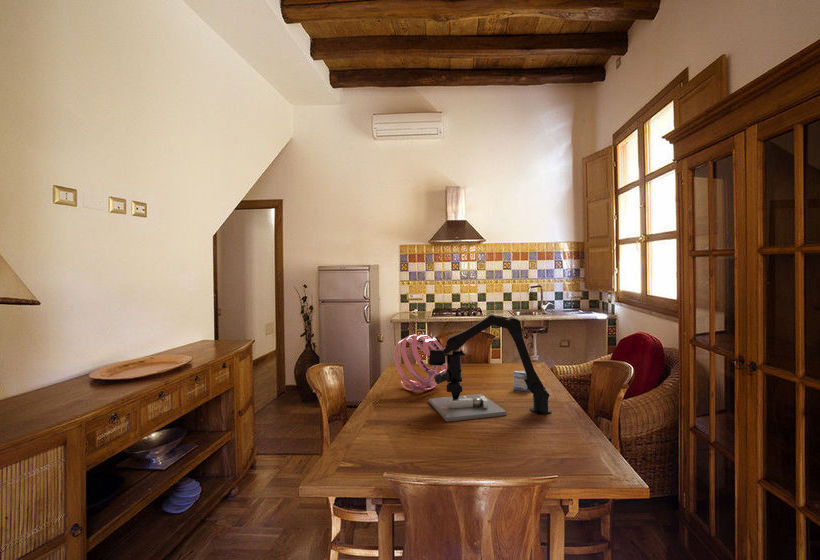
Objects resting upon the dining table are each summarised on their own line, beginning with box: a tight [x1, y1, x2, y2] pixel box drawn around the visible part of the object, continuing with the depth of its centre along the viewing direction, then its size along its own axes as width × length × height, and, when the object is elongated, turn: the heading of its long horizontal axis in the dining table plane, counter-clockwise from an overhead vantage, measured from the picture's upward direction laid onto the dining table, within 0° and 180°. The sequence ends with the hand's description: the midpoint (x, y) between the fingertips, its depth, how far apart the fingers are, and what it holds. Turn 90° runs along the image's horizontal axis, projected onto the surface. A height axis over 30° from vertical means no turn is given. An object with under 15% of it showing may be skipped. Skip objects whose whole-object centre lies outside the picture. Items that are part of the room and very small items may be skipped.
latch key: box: [447, 395, 488, 408], centre depth 176 cm, size 16×7×3 cm, turn 96°
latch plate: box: [428, 393, 507, 422], centre depth 179 cm, size 25×25×2 cm
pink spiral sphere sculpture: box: [393, 333, 448, 392], centre depth 209 cm, size 28×28×27 cm
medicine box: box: [512, 370, 531, 393], centre depth 204 cm, size 8×4×9 cm, turn 62°
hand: (455, 402), depth 178 cm, fingers closed
